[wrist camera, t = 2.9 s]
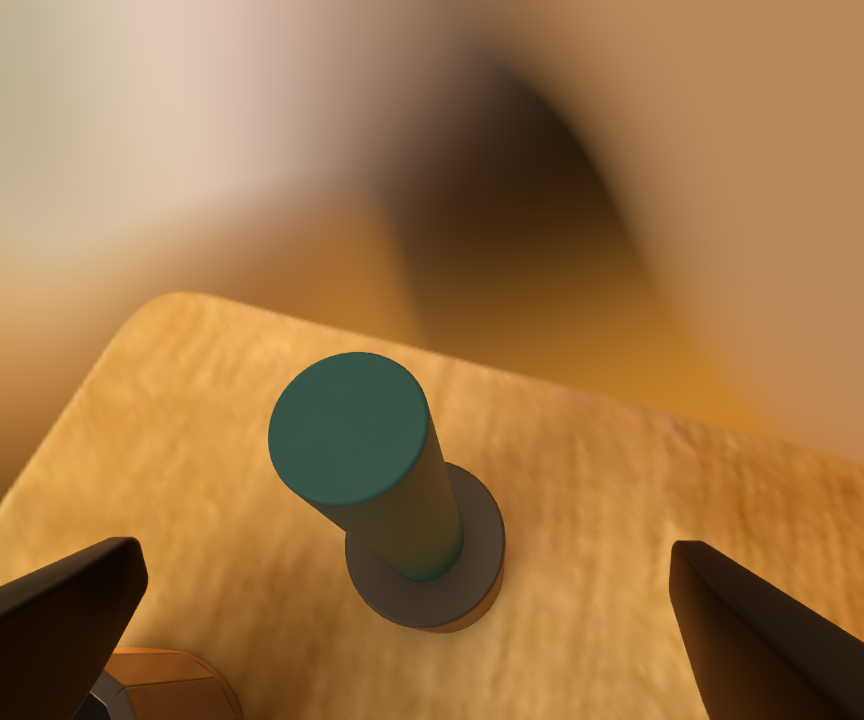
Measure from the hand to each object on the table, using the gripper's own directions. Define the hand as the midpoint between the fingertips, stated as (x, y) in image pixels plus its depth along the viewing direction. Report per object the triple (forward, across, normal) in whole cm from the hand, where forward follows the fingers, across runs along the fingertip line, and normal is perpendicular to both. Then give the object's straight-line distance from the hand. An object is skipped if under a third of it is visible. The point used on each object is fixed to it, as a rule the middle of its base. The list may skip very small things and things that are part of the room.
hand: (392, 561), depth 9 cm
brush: (+7, 0, +5) cm, 9 cm away
